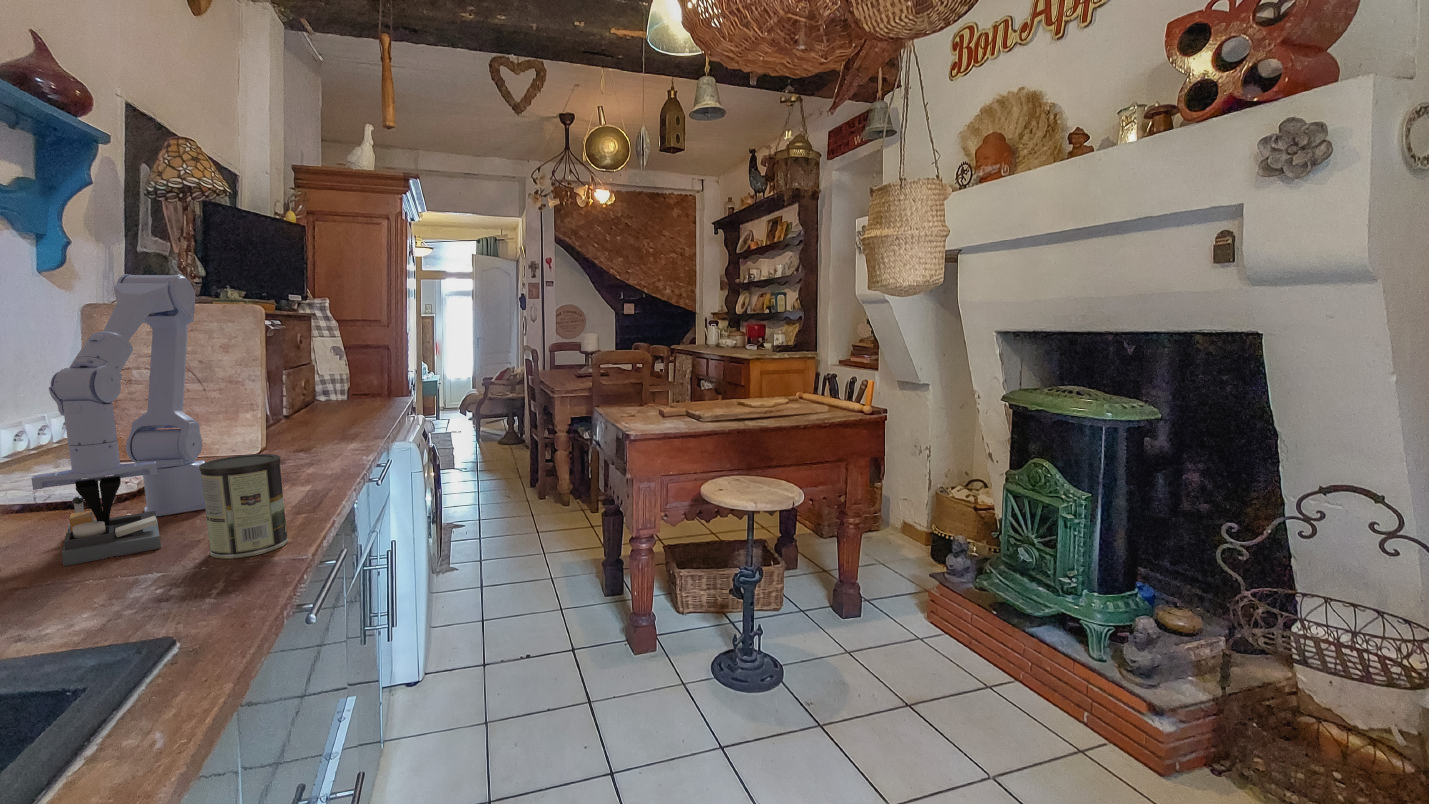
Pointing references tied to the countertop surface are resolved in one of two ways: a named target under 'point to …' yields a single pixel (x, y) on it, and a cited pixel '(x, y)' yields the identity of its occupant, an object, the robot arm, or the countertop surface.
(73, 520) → the slider
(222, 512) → the coffee can
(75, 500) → the lever
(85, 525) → the button
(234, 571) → the countertop surface
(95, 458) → the robot arm
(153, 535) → the console
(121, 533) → the beige flat panel
